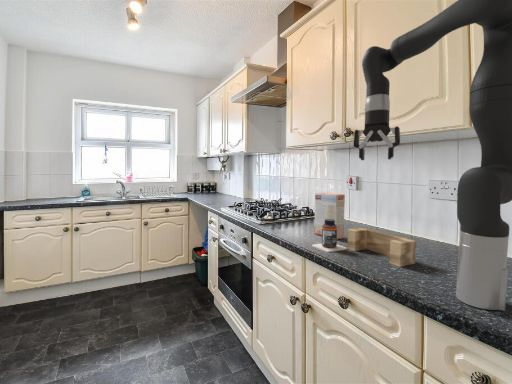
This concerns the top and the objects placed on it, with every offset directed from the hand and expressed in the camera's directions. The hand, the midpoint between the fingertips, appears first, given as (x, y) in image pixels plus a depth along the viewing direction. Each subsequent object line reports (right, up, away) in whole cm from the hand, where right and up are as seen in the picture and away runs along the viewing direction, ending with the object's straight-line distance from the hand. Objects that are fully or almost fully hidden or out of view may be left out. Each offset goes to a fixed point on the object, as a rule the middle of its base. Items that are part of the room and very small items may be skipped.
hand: (375, 159), depth 95 cm
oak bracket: (+6, -35, +12) cm, 37 cm away
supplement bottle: (-10, -34, +22) cm, 41 cm away
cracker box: (-5, -33, +41) cm, 53 cm away
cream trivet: (-10, -34, +22) cm, 42 cm away
